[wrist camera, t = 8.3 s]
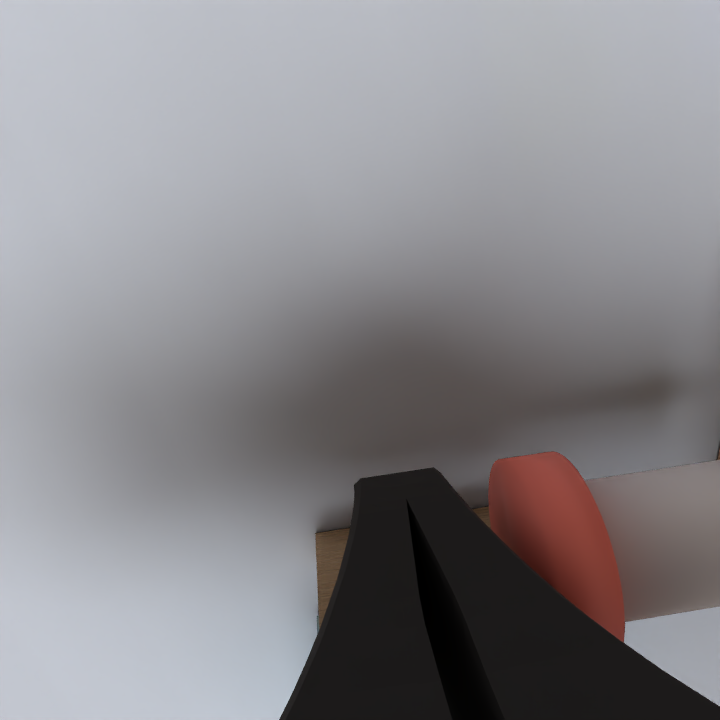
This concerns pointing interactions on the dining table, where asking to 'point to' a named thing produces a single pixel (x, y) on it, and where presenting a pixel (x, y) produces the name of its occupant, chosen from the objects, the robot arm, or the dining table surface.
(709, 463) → the plunger
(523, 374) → the dining table surface
